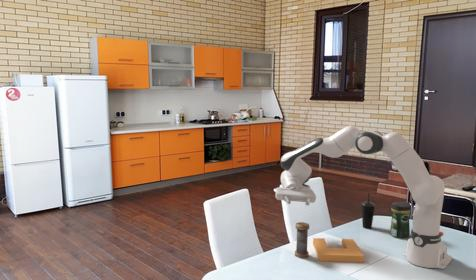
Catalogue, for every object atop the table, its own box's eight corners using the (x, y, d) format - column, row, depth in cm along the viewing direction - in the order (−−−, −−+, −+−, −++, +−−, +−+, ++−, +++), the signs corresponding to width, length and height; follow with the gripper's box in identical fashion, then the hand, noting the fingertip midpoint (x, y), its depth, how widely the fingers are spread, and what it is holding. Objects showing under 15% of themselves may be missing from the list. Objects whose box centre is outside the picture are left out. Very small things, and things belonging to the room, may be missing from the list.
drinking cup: (376, 227, 221) (378, 193, 219) (370, 230, 216) (372, 195, 213) (363, 224, 227) (365, 190, 224) (357, 227, 221) (359, 193, 219)
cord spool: (301, 251, 188) (302, 221, 186) (311, 255, 183) (312, 225, 181) (291, 254, 184) (292, 224, 182) (301, 259, 179) (302, 227, 177)
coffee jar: (402, 232, 214) (404, 199, 212) (412, 237, 206) (414, 203, 204) (387, 233, 211) (388, 200, 209) (396, 239, 204) (398, 204, 201)
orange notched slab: (313, 243, 197) (313, 238, 196) (352, 244, 196) (353, 239, 196) (319, 260, 177) (319, 254, 177) (363, 262, 176) (364, 255, 176)
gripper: (274, 182, 198) (278, 196, 185) (312, 185, 200) (319, 199, 188) (272, 193, 200) (276, 207, 187) (310, 196, 203) (317, 210, 190)
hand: (298, 203), depth 187 cm, fingers open, 8 cm apart
